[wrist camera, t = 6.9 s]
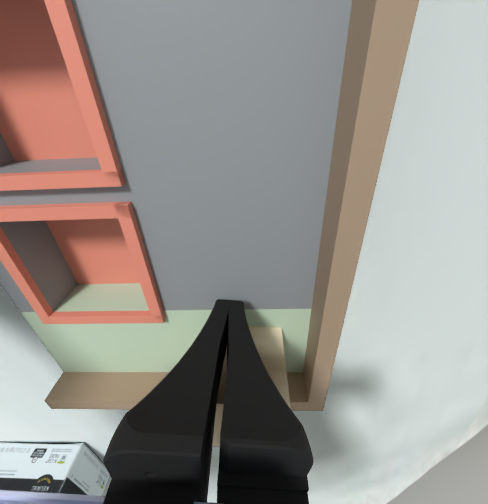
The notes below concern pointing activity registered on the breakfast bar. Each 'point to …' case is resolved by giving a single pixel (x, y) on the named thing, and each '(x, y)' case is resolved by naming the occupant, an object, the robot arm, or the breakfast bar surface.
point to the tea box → (51, 469)
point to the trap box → (189, 176)
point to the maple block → (273, 360)
